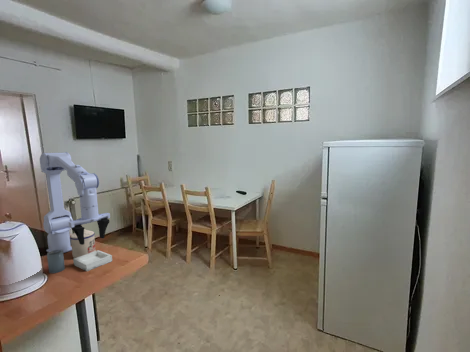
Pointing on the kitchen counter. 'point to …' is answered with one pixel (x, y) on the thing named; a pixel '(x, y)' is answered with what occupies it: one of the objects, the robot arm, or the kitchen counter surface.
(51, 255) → the tumbler
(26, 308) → the kitchen counter surface
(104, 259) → the tray
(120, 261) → the kitchen counter surface
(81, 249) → the teacup with lid
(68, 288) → the kitchen counter surface
